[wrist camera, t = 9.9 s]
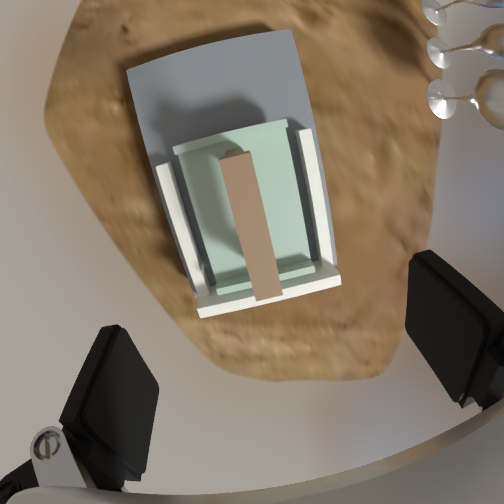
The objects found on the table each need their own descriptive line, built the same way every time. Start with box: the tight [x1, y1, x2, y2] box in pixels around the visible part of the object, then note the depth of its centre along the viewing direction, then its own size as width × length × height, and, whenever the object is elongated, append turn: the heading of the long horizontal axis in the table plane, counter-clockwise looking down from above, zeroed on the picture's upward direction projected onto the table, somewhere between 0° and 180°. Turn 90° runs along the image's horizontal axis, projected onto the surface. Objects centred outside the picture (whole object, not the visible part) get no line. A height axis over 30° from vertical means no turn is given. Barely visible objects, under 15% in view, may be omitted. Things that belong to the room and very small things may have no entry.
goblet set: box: [421, 0, 504, 131], centre depth 14 cm, size 28×6×13 cm, turn 1°
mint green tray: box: [173, 119, 315, 301], centre depth 22 cm, size 12×8×8 cm, turn 13°
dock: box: [126, 29, 341, 318], centre depth 24 cm, size 22×14×6 cm, turn 13°
